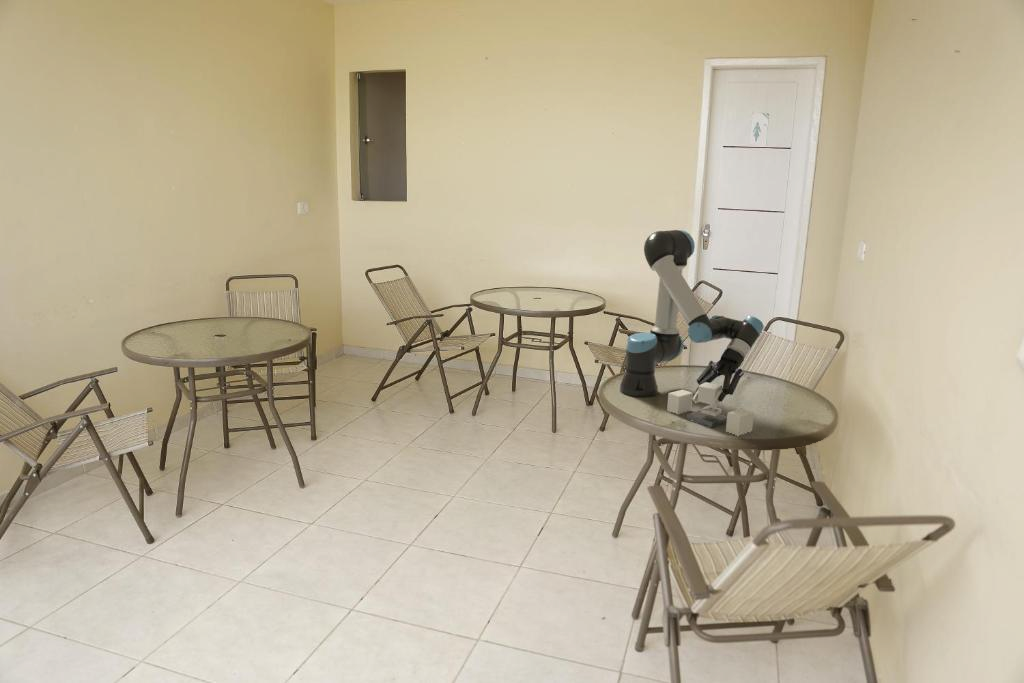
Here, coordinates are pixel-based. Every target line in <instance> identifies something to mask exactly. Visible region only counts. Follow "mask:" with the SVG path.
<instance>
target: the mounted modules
mask: <svg viewBox="0 0 1024 683" xmlns="http://www.w3.org/2000/svg"><path fill="white" fill-rule="evenodd" d="M693 397H694V392H691V391H688V390H685V389H680V390H675V391H671V392H668V395H667V408H666V410H667V411H666V412H669V411H670V412H669V413H671V412H673V413H672V414H674V413H676V414H675V415H677V414H678V415H681V414H680V413H682V414H684V413H683V412H685V413H688V412H687V411H689V412H692V411H691V410H693V407H692V406H693V400H692V398H693ZM754 415H755V412H754V411H751V410H747V409H745V408H739V409H735V410H732V411H729V412H727V415H726V416H727V423H726V425H725V433H727V432H729V433H728V434H730V433H732V434H731V435H733V434H735V435H734V436H736V435H741V436H743V435H745V434H744V433H746V434H748V433H747V432H749V433H751V432H750V431H752V432H753V425H754V424H753V423H754V417H755V416H754ZM742 434H743V435H742Z"/></svg>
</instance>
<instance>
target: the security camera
mask: <svg viewBox="0 0 1024 683" xmlns="http://www.w3.org/2000/svg"><path fill="white" fill-rule="evenodd" d="M698 386H699V390H698V402H697V403H703V404H707V405H706V406H705V407H703V408H701V409H700V410H701V413H704V414H708V415H712V416H717V415H718V414H721V413H722V412H723V411H722V408H719V407H716V409H715V410H714V409H713V408H712V407H711V403H712V401H713V400H714V398H715V397H716V395H717V394H718V392H719V390H720V391H722V390H721V389H722V388H723V385H720V384H716V383H712V382H711V383H708V382H705V383H703V384H701V385H699V384H698ZM720 403H721V402H719V404H720Z"/></svg>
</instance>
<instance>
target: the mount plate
mask: <svg viewBox="0 0 1024 683" xmlns="http://www.w3.org/2000/svg"><path fill="white" fill-rule="evenodd" d="M688 419H690V420H693V421H695V422H694V423H696V422H698V423H697V424H699V423H700V424H699V425H702V424H703V425H702V426H704V425H706V426H705V427H707V426H709V427H708V428H710V427H711V428H710V429H713V427H714V428H716V426H717V427H720V426H723V425H725V424H727V415H724V414H721V413H720V414H718V415H717V416H712V415H708V414H704V413H701V409H699V410H696V411H691V412H689V413H687V414H686V420H688ZM690 420H689V421H690ZM693 421H692V422H693Z"/></svg>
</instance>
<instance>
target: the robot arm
mask: <svg viewBox="0 0 1024 683" xmlns="http://www.w3.org/2000/svg"><path fill="white" fill-rule="evenodd" d="M694 252H695V241H694V238H693V236H692V235H691V234H690V233H689V232H687V231H685V230H683V229H682V230H681V229H673V230H671V229H670V230H658V231H654V232H653V233H651V234H650V235H649V236H648V237H647V238H646V240H645V242H644V245H643V253H644V257H645V260H646V262H647V264H648V266H649V267H650V269H651V271H654V272H656V273H657V275H658V277H659V280H658V281H659V283H658V291H657V302H656V309H655V310H656V311H655V319H654V320H655V321H654V325H653V326H652V327H650V330H649V332H637V333H634V334H631V335H629V336H628V339H627V342H626V352H625V353H626V354H625V355H626V356H625V372H624V375H623V376H622V377H623V378H622V380H621V383H620V384H619V385H620V387H619V391H620V392H621V393H623V394H624V395H626V396H632V397H638V398H646V397H647V398H649V397H652V396H656V395H658V390H659V386H658V385H657V379H656V376H655V374H656V373H655V372H656V370H655V369H656V365H657V364H661V363H664V362H665V363H667V362H671V361H673V360H676V359H677V358H679V357H680V355H681V354H682V352H683V350H684V340H683V339H682V336H681V335H680V330H679V329H678V327H677V321H678V312H679V311H680V313H681V316H682V317H683V318H684V320H685V321H686V323H687V324H688V330H687V331H688V338H689V339H690V340H691V341H692V342H693V343H695V344H701V343H702V344H703V343H708V342H711V341H715V340H720V339H728V340H730V341H729V343H728V345H727V346H726V348H725V349H724V351H723V353H722V354H721V356H720V359H719V360H718V361H716V362H714V361H713V360H710V361H709V363H708V365H707V366H706V368H705V369H704V370H703V371H702V373H701V374H700V375H699V376H698V377H697V378H696V383H697V384H698V385H697V386H698V387H697V388H696V389H695V393H694V394H693V398H692V402H694V403H695V404H698V403H699V402H698V390H699V385H701V384H703V383H705V382H708V383H712V382H713V381H714V380H715V379H717V378H718V377H720V376H724V379H723V384H722V389H721V390H722V391H720V390H719V392H718V394H717V395H716V397H715V398H714V400H713V401H712V403H711V404H710V405H711V407H712V408H713V409H714V410H715V409H716V408H718V406H719V404H720V403H721V402H723V400H724V399H725V398H726V396H727V395H730V396H733V394H734V393H735V390H736V388H737V386H738V384H739V382H740V379H741V378H742V377H743V376H744V374H745V373H744V371H743V369H742V368H740V367H741V365H742V364H743V363H744V361H745V359H746V357H747V356H748V354H749V353H750V351H751V350H752V347H753V346H754V344H755V343H756V341H757V340H758V339H759V338H760V337H761V334H762V332H763V330H764V324H763V321H761V319H759V318H757V317H756V316H752V315H749V316H746V317H745V318H744V319H743V320H737V319H734V318H730V317H726V316H724V315H713V316H712V317H711V318H709V315H707V313H706V311H705V310H704V308H703V306H702V305H701V303H700V301H699V300H698V298H697V297H696V296H695V294H694V292H693V290H692V288H690V285H689V284H688V282H687V281H686V279H685V278H684V276H683V269H685V268H686V267H687V266H688V259H690V257H691V256H692V255H693V254H694ZM733 374H734V375H733ZM719 402H720V403H719Z"/></svg>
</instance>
